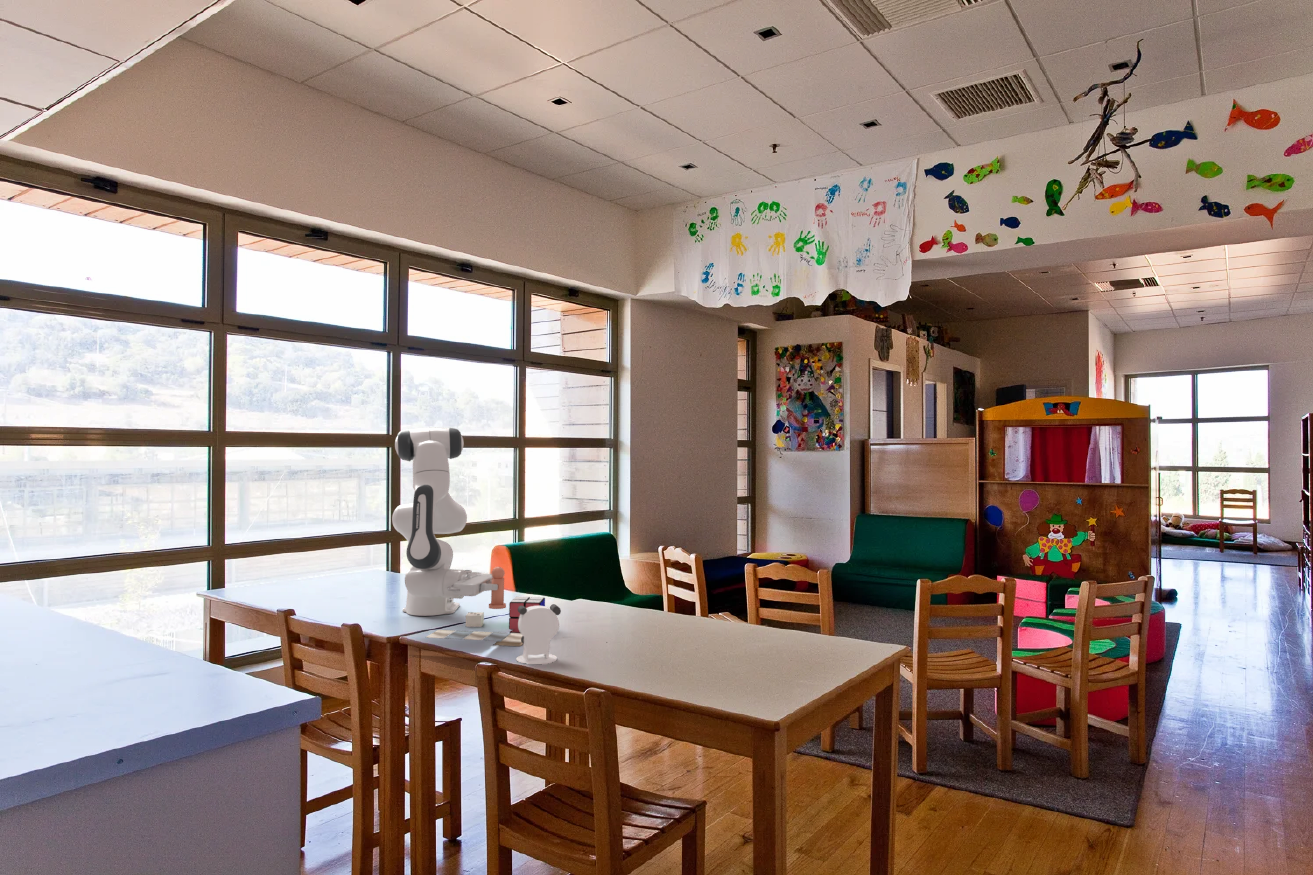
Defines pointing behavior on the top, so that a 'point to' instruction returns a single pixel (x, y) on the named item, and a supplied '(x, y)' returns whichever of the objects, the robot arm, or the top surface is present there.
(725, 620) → the top surface
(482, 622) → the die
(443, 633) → the track
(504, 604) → the dildo
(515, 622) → the puzzle cube
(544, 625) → the panda figurine
